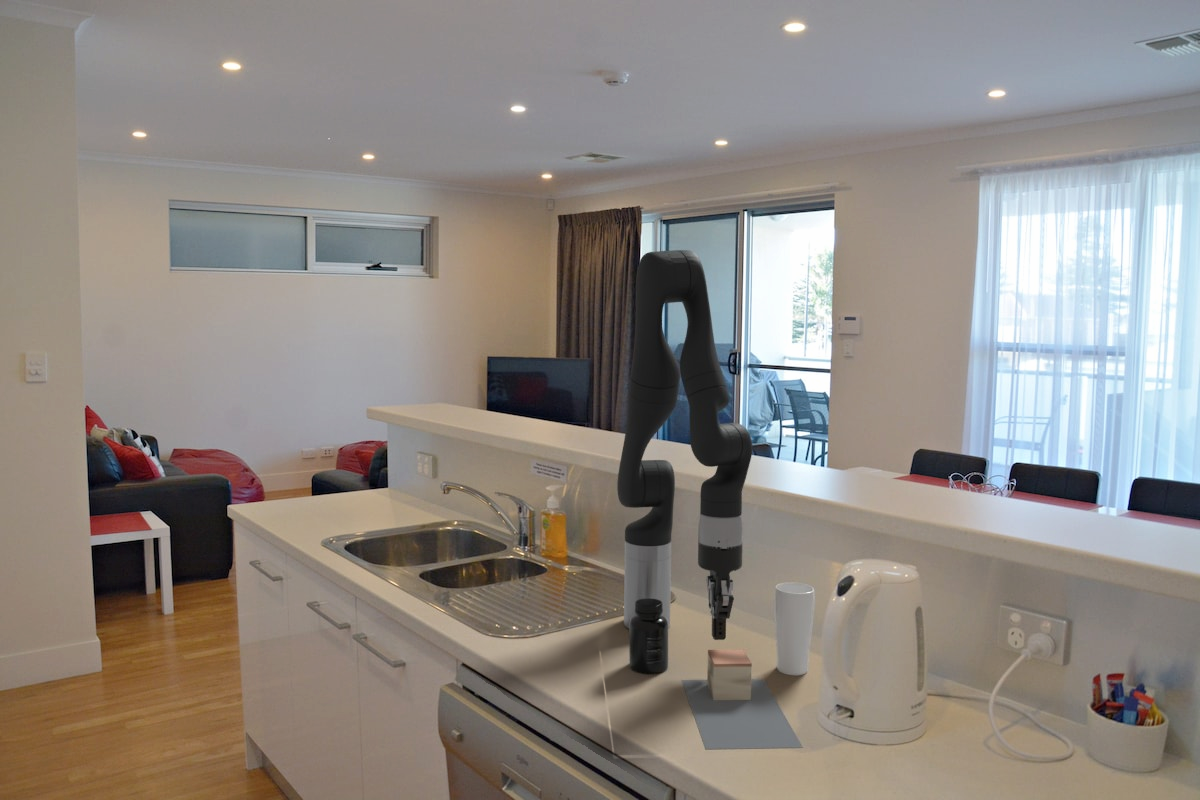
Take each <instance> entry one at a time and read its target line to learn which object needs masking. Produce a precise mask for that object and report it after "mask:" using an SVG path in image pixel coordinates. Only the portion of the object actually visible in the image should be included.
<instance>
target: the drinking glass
mask: <svg viewBox="0 0 1200 800" xmlns="http://www.w3.org/2000/svg"><path fill="white" fill-rule="evenodd" d="M774 587H775V588H774V604H773V606H774V608H773V610H774V611H773V612H774V625H775V626H774V627H775V641H776V669H777V671H778V672H780V673H782V674H784V675H789V676H803V675H805V674H807V673H808V670H809V658H810V648H811V641H812V640H811V639H812V633H813V626H814V624H813V623H814V615H815V588H814V587H813V586H811V585H809V584H806V583H801V582H793V581H791V582H790V581H789V582H788V581H787V582H780V583H778V584H776V585H775V586H774Z"/></svg>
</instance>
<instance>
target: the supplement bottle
mask: <svg viewBox="0 0 1200 800" xmlns="http://www.w3.org/2000/svg"><path fill="white" fill-rule="evenodd" d="M635 613H636V615H635V616H633V617H632V618H631V620H630V623H629V628H628V629H629V636H628V637H629V641H628V642H629V643H628V644H629V653H628V655H629V656H628V657H629V659H628V660H629V668H630V670H632V671H633V672H635V673H637V674H640V675H641V674H642V675H658V674H662V673H664V672H666V671H667V670H668V668H669V627H668V621H667V619H666V618H665V617H664V616H662V615H661V614H662V613H663V603H662V601H660V600H657V599H651V598H645V599H639V600H637V601H636V602H635Z"/></svg>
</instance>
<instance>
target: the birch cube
mask: <svg viewBox="0 0 1200 800" xmlns="http://www.w3.org/2000/svg"><path fill="white" fill-rule="evenodd" d="M706 678H707V679H706V680H707V685H708V688H709V690H710V693H711V695H712V697H713V700H751V679H752V661H751V659H750V658H749V656H748V655H747V652H746V651H745V649H708V650H707V677H706Z"/></svg>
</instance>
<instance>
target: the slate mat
mask: <svg viewBox="0 0 1200 800" xmlns="http://www.w3.org/2000/svg"><path fill="white" fill-rule="evenodd" d="M681 682H682V685H683V688H684V691H685V693H686V696H687V699H688V702H689V706H690V708H691V711H692V714H693V717H694V720H695V723H696V725H697V729H698V732H699V734H700V738H701V739H702V742H703V746H704V748H705V750H750V749H752V750H753V749H754V750H755V749H756V750H758V749H764V750H765V749H803V748H804V747H803V745H802V743H801V742H800V740H799V738H798V736H797V735H796V733H795V731H794V729H793V727H792V726H791V724H790V723H789V720H788V719H787V717H786V715H785V714H784V712H783V710H782V708H781V707H780V705H779V703H778V701H777V700H776V697H775V696H774V694H773V693H772V691H771V689H770V688H769V685H768V683H766V680H765V679H764V678H751V700H713V697H712V695H711V693H710V690H709V688H708V685H707V679H681Z"/></svg>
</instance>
